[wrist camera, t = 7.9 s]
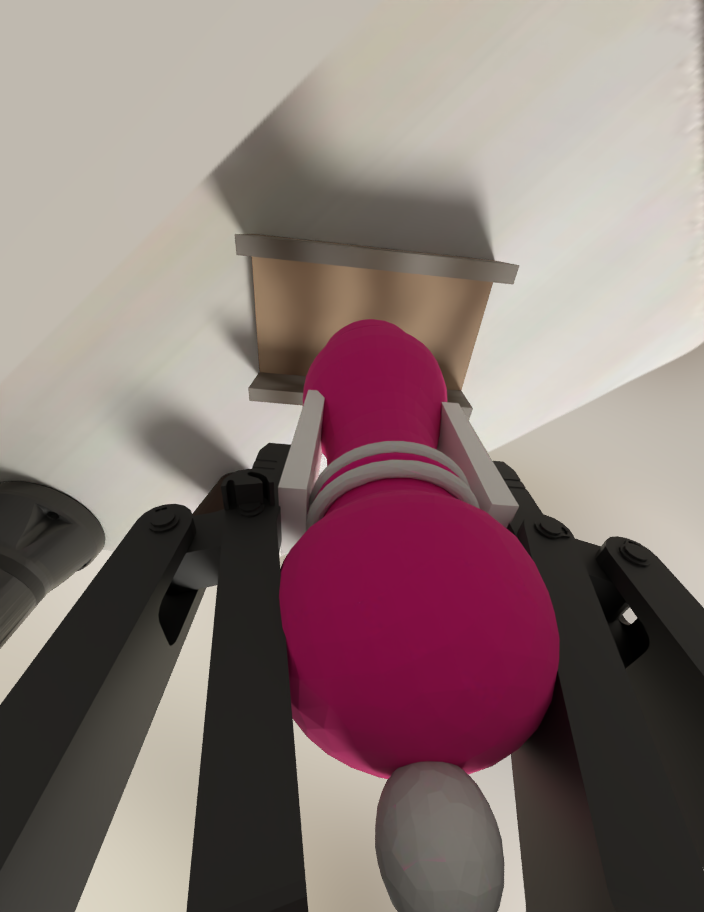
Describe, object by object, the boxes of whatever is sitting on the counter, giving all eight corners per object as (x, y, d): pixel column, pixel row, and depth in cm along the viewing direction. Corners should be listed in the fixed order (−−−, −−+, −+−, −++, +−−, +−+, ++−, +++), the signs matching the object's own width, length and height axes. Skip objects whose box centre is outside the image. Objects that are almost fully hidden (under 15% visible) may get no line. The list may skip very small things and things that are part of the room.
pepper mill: (350, 439, 23) (352, 946, 7) (287, 352, 20) (-22, 954, 3) (445, 389, 21) (785, 943, 5) (394, 281, 18) (1004, 958, 1)
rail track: (262, 380, 34) (249, 400, 30) (253, 234, 27) (234, 234, 23) (455, 397, 35) (468, 420, 30) (494, 260, 28) (519, 265, 23)
